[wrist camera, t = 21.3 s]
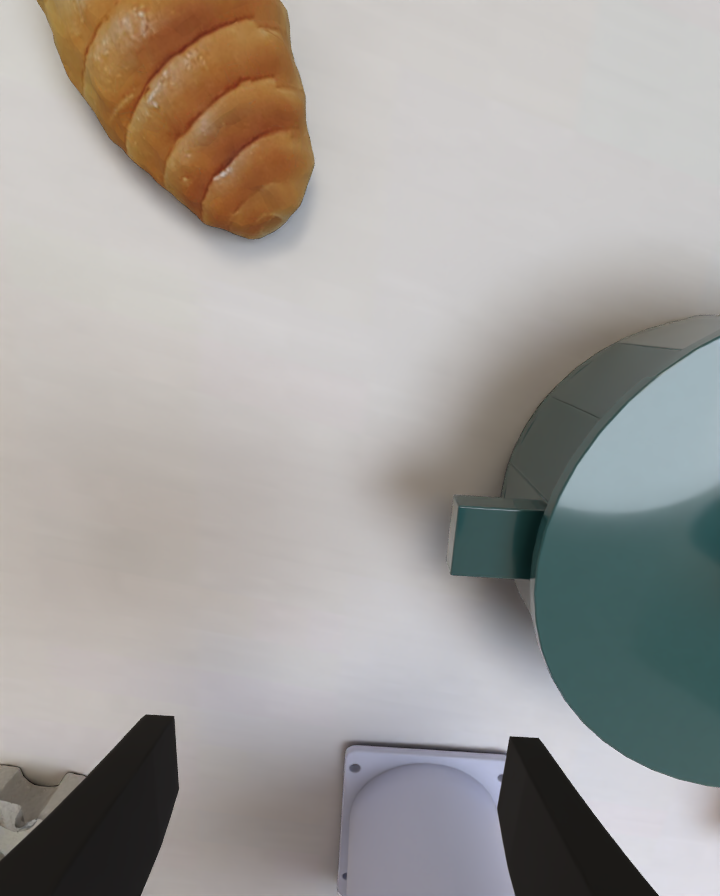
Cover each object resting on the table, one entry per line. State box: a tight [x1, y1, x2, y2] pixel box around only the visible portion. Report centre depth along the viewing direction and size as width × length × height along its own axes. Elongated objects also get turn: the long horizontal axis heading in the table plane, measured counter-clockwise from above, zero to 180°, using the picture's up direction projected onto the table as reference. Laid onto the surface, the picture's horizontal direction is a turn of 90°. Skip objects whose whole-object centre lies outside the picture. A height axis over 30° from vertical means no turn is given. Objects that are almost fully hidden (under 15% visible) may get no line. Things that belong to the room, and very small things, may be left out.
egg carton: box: [0, 765, 86, 860], centre depth 23 cm, size 11×8×4 cm
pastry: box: [37, 0, 315, 239], centre depth 14 cm, size 9×7×4 cm
